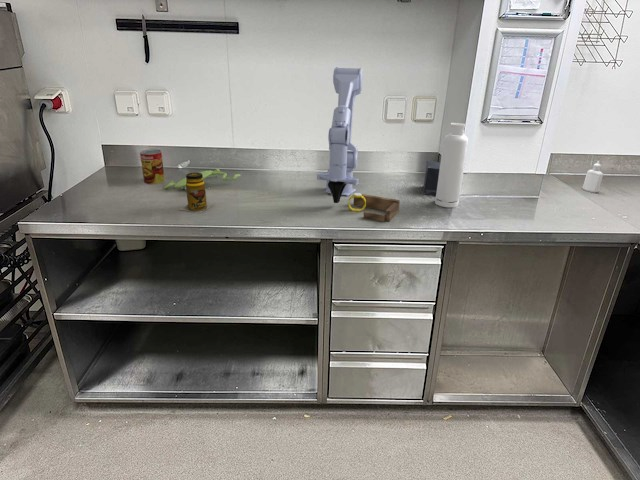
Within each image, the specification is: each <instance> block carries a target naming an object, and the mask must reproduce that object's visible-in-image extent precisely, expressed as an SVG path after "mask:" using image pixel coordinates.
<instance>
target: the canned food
mask: <svg viewBox="0 0 640 480" xmlns="http://www.w3.org/2000/svg"><path fill="white" fill-rule="evenodd" d="M139 156H140V163H141V169H142V175H143V182H144V184H146V185H159V184H162V183H165V182H166V177H165V176H166V175H165V168H164V162H163V154H162V150H160V149H157V148H156V149H155V148H154V149H153V148H152V149H144V150H140V151H139Z"/></svg>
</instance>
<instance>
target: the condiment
mask: <svg viewBox="0 0 640 480" xmlns="http://www.w3.org/2000/svg"><path fill="white" fill-rule="evenodd" d="M198 172H199V171H198ZM198 172H197V171H195V172H189V173H187V174H186V175H185V178H186V181H187V182H186V190H185V191H186V197H187V198H186V199H187V204H186V205H185V206H183V207H181V208H179V209H178V210H179V211H185V212H191V213H196V214H197V213H198V214H201V213H203V212H205V211H207V210H208V209H209V208H211V207H212V205H209V204H207V195H206V183H205V181H204V179H203V175H202V174H201V173H198Z"/></svg>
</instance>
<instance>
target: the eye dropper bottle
mask: <svg viewBox="0 0 640 480" xmlns="http://www.w3.org/2000/svg"><path fill="white" fill-rule="evenodd" d="M600 163H601V161H600V160H597V161H596V163H594V164H593V167H592V169H588V170H587V172H586V175H585V179H584V182H583V185H582V190H583V191H586V192H588V193H593V194H595V193H598V192H599V190H600V187H601V184H602V180H603V177H604V173H603V172H602V171H601V167H602V165H601V164H600Z"/></svg>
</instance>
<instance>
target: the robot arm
mask: <svg viewBox="0 0 640 480" xmlns="http://www.w3.org/2000/svg"><path fill="white" fill-rule="evenodd" d="M363 74H364V71H363V68H362V67H359V68H358V67H357V68H355V67H351V68H350V67H335V68H334V69H333V75H332V81H333V82H332V83H333V87H334V92H335V93H336V94H338V97H337V98H338V101H337V106H336V107H335V108H334V109H333V114H332V121H331V127H329V129H328V134H327V135H328V136H327V139H328V150H329V166H328V167H329V168H328V170H327V172H326V173H325V172H324V173H323V172H319V173H317V174H316V180H319V181H320V180H323V181H325V182H326V187H325V193H327V194H331V196H332V200H333V203H334V204H338V203H340V202H341V201H340V200H341V197H342V196H345V197H346V196H347V197H349V196H351V194H354V192H356V191H357V189H356V188H353V186H354V187H355V186H356V187H357V186H358V185H359V180H360V179H359V178H356V177H354V176H353V175H354V170H356V169H357V167H358V159H359V157H358V156H359V154H358V153H359V152H358V151H359V150H358V147H357V146H356V145H355V144H354V143H353V142H352V133H353V130H352V129H353V117H354V106H355V105H354V103H355V100H356V97H357V96H358V95H360V94H361V92H362V87H363V79H364V78H363V77H364V75H363Z"/></svg>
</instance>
